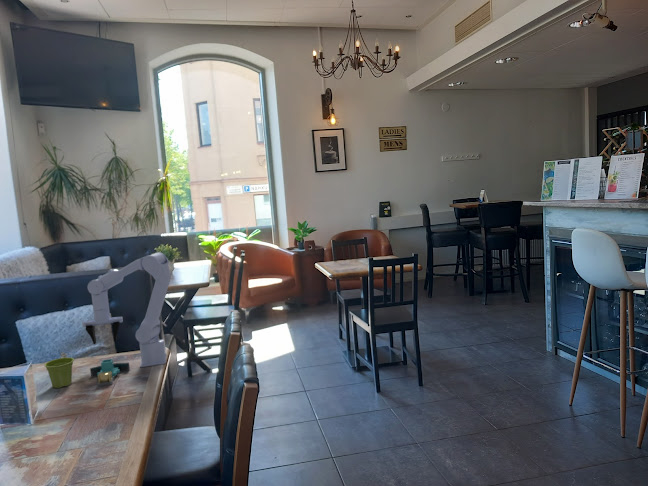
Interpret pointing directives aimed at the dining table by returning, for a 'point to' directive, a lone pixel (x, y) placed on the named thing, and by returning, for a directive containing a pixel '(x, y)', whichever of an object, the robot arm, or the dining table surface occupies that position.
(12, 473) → the dining table surface
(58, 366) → the plant pot
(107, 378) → the carrier
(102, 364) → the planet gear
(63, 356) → the soldier figure
